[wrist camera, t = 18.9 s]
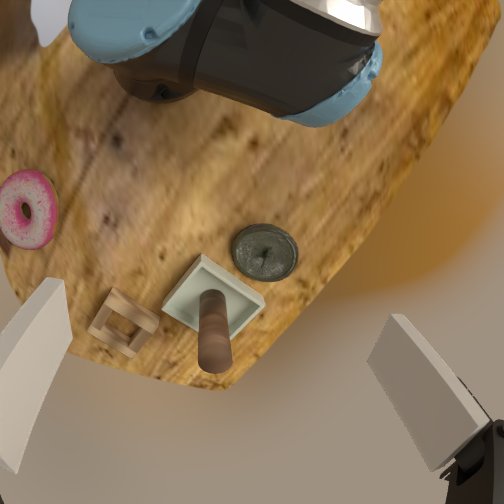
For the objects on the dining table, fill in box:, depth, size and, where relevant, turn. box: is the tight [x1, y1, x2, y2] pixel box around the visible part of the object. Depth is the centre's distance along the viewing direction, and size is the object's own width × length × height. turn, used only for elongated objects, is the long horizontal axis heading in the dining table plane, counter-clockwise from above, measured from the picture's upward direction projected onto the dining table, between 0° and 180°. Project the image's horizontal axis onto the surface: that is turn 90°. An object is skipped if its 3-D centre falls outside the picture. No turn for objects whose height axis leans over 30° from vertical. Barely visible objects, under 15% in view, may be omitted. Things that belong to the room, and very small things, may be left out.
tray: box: [161, 253, 265, 340], centre depth 49 cm, size 13×11×3 cm
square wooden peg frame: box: [87, 287, 160, 359], centre depth 48 cm, size 10×10×3 cm
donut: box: [0, 169, 60, 250], centre depth 37 cm, size 14×13×5 cm
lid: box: [232, 223, 299, 282], centre depth 45 cm, size 11×10×5 cm
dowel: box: [198, 289, 232, 374], centre depth 43 cm, size 4×4×15 cm
